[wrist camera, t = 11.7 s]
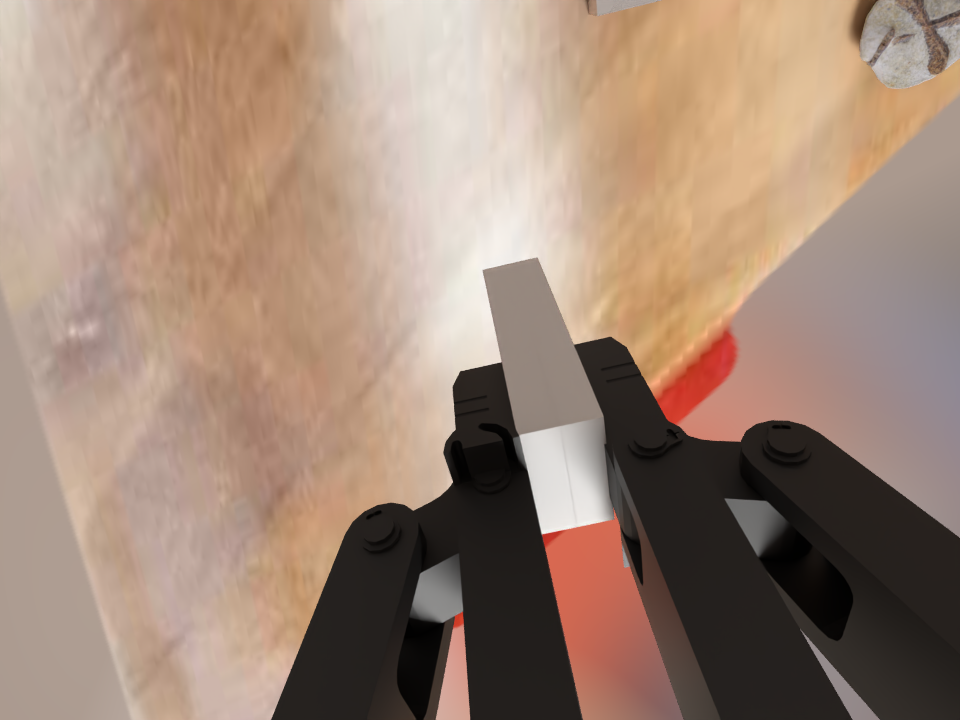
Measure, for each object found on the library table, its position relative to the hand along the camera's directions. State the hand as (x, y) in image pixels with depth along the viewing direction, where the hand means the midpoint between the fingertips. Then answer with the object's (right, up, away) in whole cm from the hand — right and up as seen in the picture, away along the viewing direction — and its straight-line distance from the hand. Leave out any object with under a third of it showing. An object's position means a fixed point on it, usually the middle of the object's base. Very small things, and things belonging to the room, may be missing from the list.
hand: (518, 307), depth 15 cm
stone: (+28, +22, +21) cm, 41 cm away
